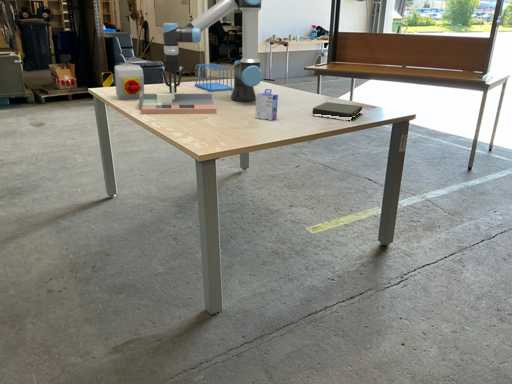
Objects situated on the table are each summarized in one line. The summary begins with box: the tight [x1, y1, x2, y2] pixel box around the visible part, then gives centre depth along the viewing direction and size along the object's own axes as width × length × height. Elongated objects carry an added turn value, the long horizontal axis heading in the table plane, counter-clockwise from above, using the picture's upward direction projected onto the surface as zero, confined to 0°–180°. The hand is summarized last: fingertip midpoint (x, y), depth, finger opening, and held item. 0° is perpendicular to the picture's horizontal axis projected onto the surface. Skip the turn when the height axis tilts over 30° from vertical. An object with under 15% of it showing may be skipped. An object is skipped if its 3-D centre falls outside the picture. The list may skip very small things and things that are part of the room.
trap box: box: [138, 90, 217, 115], centre depth 233 cm, size 40×28×7 cm
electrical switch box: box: [114, 63, 145, 101], centre depth 252 cm, size 15×15×20 cm
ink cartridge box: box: [255, 88, 279, 121], centre depth 215 cm, size 10×6×14 cm, turn 58°
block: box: [156, 91, 172, 103], centre depth 237 cm, size 8×8×4 cm
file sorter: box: [194, 63, 234, 93], centre depth 297 cm, size 25×17×15 cm
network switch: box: [312, 101, 363, 117], centre depth 229 cm, size 23×24×5 cm
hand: (173, 98), depth 238 cm, fingers closed
